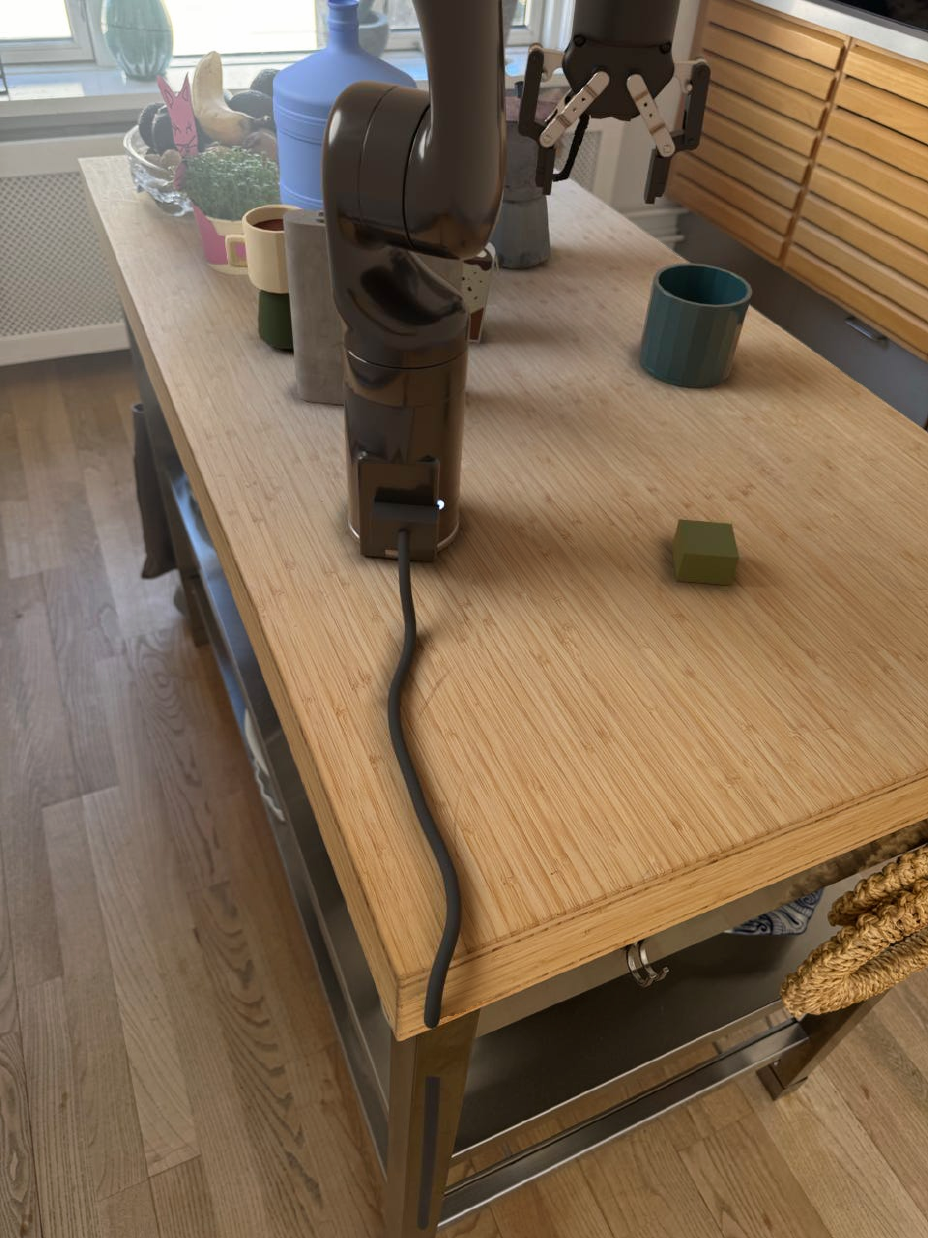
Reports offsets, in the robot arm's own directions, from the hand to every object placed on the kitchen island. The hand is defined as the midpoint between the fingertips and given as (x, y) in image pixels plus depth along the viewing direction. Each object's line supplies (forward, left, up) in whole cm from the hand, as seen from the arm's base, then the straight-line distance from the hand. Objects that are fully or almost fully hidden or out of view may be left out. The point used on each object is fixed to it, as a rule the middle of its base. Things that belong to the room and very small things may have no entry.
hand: (597, 196), depth 77 cm
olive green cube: (-20, -11, -22) cm, 32 cm away
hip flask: (+2, +19, -22) cm, 29 cm away
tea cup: (+14, -13, -22) cm, 29 cm away
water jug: (+30, +26, -22) cm, 45 cm away
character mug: (+12, +30, -22) cm, 39 cm away
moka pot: (+39, +6, -22) cm, 45 cm away
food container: (+18, +14, -22) cm, 31 cm away
